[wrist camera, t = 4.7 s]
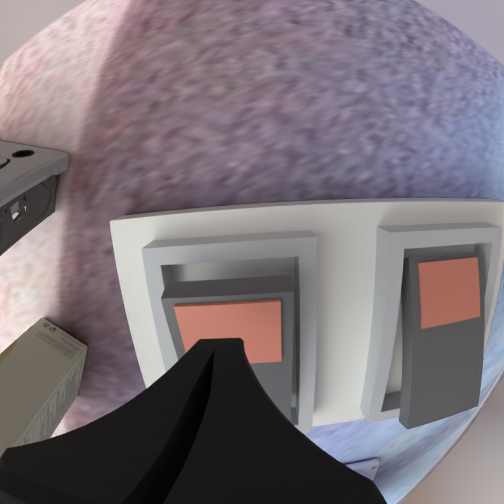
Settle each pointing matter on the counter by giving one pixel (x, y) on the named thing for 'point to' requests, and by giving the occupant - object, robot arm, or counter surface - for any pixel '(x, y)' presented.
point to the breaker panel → (309, 283)
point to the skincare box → (38, 383)
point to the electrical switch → (26, 188)
